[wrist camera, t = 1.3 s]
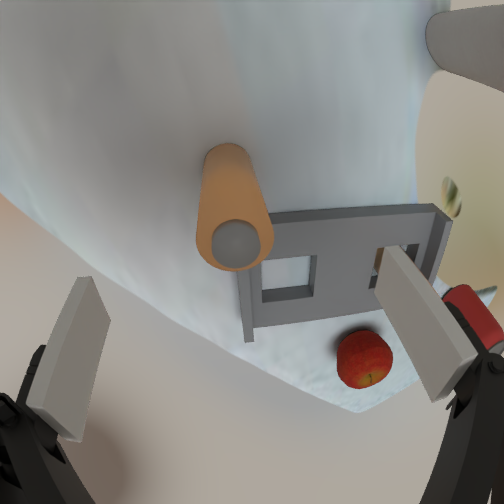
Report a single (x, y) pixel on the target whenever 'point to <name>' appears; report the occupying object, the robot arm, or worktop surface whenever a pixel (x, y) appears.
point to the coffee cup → (470, 43)
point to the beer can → (477, 317)
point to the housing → (340, 260)
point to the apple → (363, 359)
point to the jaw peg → (232, 212)
